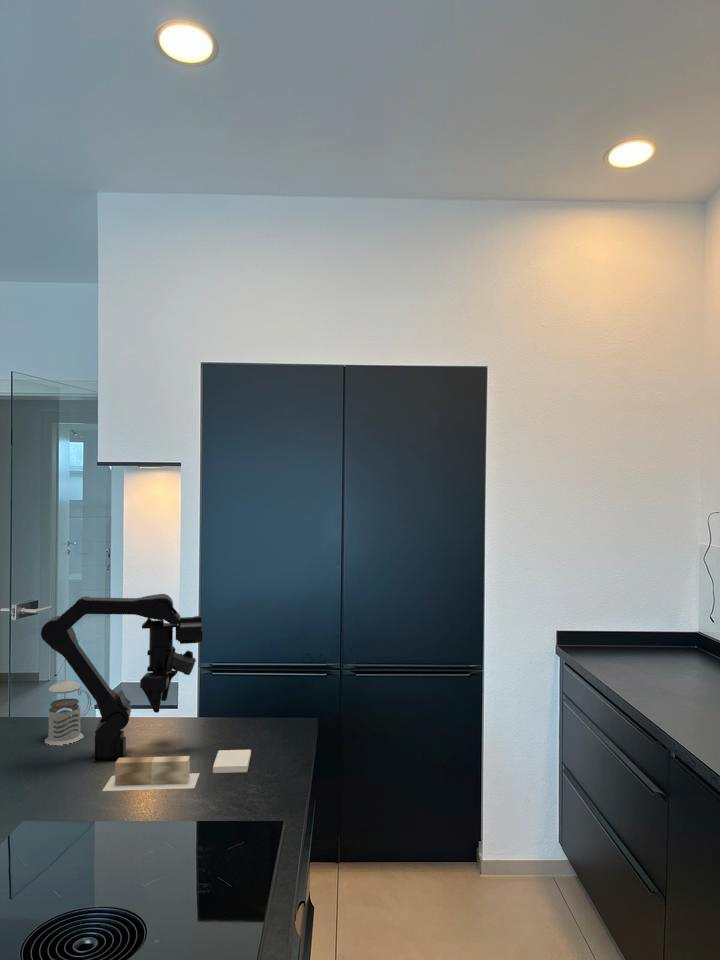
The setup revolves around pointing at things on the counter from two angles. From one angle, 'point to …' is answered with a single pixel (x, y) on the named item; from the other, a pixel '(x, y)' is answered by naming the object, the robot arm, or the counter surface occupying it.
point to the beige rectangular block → (152, 770)
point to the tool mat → (151, 785)
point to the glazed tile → (232, 761)
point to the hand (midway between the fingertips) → (160, 706)
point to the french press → (65, 715)
